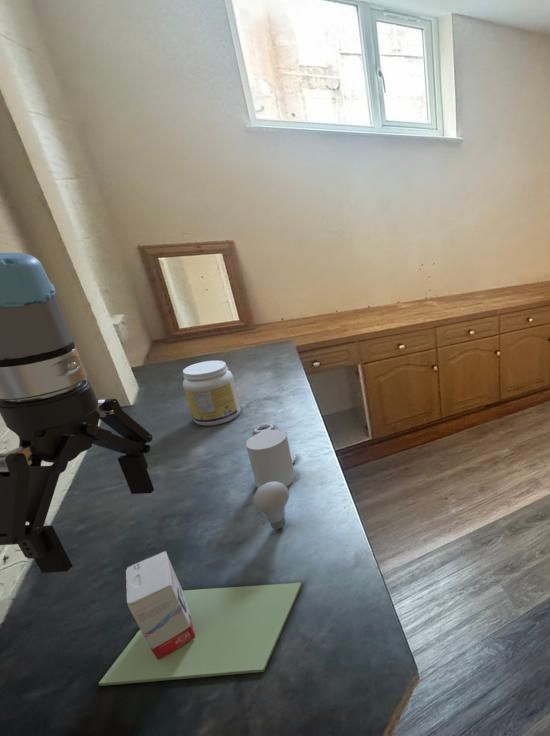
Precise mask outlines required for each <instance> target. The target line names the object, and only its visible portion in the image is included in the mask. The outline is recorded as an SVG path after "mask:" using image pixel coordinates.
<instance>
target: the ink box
mask: <svg viewBox="0 0 550 736" xmlns="http://www.w3.org/2000/svg"><path fill="white" fill-rule="evenodd" d="M125 581H126V583H125V584H126V585H125V588H126V604H127V608H128V609H129V611H130V613H131V615H132V617H133V618H134V620H135V622H136V624H137V626H138V628H139V630H141V631H142V633H143V635H144V637H145V639H146V641H147V643H148V644H149V646H150V648H151V650H152V652H153V654H154V655H155V657H156V659H161V658H163V657H164V656H166V655H168V654H169V653H171V652H173V651H175V650H176V649H178V648H179V647H181V646H182V645H184V644H186V643H187V642H189V641H190V640H192V639H193V638H195V632H194V628H193V624H192V620H191V615H190V611H189V606H188V602H187V600H186V597H185V595H184V593H183V588H182V585H181V583H180V581H179V579H178V576H177V574H176V572H175V570H174V567H173V565H172V563H171V560H170V558H169V555H168V553H167V551H166V550H164V551H162V552H159V553H157V554H154V555H152V556H149V557H147V558H145V559H143V560H140V561H138V562H136V563H134V564H131V565H130V566H126V569H125Z"/></svg>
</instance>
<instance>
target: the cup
mask: <svg viewBox="0 0 550 736" xmlns="http://www.w3.org/2000/svg"><path fill="white" fill-rule="evenodd" d="M245 446H246V450H247V455H248V458H249V462H250V466H251V469H252V473H253V474H252V475H253V477H254V481H255V484H256V489H257V490H258V489H259V487H261V486H262V485H264V484H265V483H268V482H272V481H277V482H281V483H283V484H284V485H285V486H286V487H287V488H288V487H289V486H291V484H293V483H294V481H295V480H296V473H295V468H294V463H293V462H292V458H291V453H292V452H291V449H290V444H289V439H288V434H287V432H286V431H285V430H282V429H272V430H267V431H263V432H260V433H258V434H256V433H255V434H253V435H252V436H251V437H249V438H248V439H247V440H246V442H245Z"/></svg>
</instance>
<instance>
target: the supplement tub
mask: <svg viewBox="0 0 550 736" xmlns="http://www.w3.org/2000/svg"><path fill="white" fill-rule="evenodd" d="M182 373H183V378H184V379H183V381H182V387H183V390H184V394H185V397H186V400H187V404H188V407H189V409H190V413H191V416H192V419H193V421H194V423H195V424H197V425H200V426H205V427H207V426H218V425H221V424H225V423H228V422H230V421H232V420H234V419H235V418H237V417H238V416H239V415H240V414H241V412H242V406H241V402H240V398H239V395H238V391H237V386H236V383H235V378H234V375H233V373H232V372H231V371H230V370H229V368H228V366H227V363H226V362H225V361H223V360H205V361H200V362H197V363H193V364H191V365H188V366H186V367H185V368H183V369H182Z"/></svg>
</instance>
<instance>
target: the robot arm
mask: <svg viewBox="0 0 550 736" xmlns="http://www.w3.org/2000/svg"><path fill="white" fill-rule="evenodd" d="M70 330H71V329H70V327H69V325H68V322H67V318H66V317H65V314H64V311H63V309H62V307H61V303H60V300H59V298H58V295H57V289H56V287H55V285H54V284H53V283H52V281H50V279H49V277H48V275H47V272H46V270H45V269H44V266H43V264H42V262H41V261H40V260H39V259H38V258H37V257H35V256H33V255H31V254H28V253H23V252H0V416H1V418H2V420H3V422H4V424H5V426H6V428H8V429H9V430H10V431H12V432H13V433H14V434H16V435H17V436H18V441H19V443H18V447H16V448H14V449H12V450H9V451H7V452H1V453H0V546H12V545H13V546H14V545H17V546H18V547H19V549H20V550H21V553H22V554H23V556H24V557H25V558H27V559H29V560H30V559H34V561H35V563H36V564H37V566H38V568H39V571H40V572H41V573H42V574H45V573H48V574H49V573H63V572H68V571H69V570H70V569H71V568H73V564H72V562H71V560H70V557H69V556H68V554H67V552H66V550H65V548H64V546H63V544H62V542H61V540H60V538H59V536H58V534H57V532H56V530H55V528H54V526H53V525H45V523H46V519H47V517H48V513H49V510H50V508H51V504H52V500H53V498H54V495H55V491H56V489H57V488H56V487H57V484H58V482H59V479H60V475H61V474H62V473H64V472H65V471H66V470H67V467H68V464H69V462H72V461H73V460H75V459H76V458H78V456H79V455H80V454H81V453H83V452H86V451H88V450H89V449H91V448H92V447H93V445H95V446H98V447H101V448H104V449H107V450H110V451H114V452H117V453H120V454H122V455H120V456H119V457H118V458H117V461H118V463H119V466H120V469H121V471H122V473H123V477H124V478H125V481H126V483H127V486H128V489H129V491H130V494H131V495H141V494H152V493H153V492H154V491H155V488H154V485H153V482H152V479H151V476H150V475H149V472H148V468H149V464H148V462H147V459H146V456H145V454H148V453H150V451H151V445H150V444H147V443H151V442H152V440H153V435H152V434H151V433H150V432H149V431H148V430H147V429H145V428H144V427H143V426H141V424H139V423H138V422H137V421H136V420H135V419H133V418H132V417H131V416H130V415H129V414H128V413H127V412H125V411H124V410H123V408H122V407H121V405H120V403H119V401H118V400H117V398H98V397H97V396H96V393H95V391H94V388H93V385H92V383H91V381H89V380H86V378H87V372H86V370H85V367H84V365H83V362H82V360H81V357H80V354H79V352H78V349H77V347H76V345H75V343H74V338H73V336H72V332H71V331H70ZM100 421H101V422H103V423H104V424H105V425H106V426H108V427H110V428H111V429H112V430H114V432H116V433H117V434H115V433H113V431H111V430H107V429H105V428H102V427H100V426H99V423H100ZM118 434H119V435H118ZM123 454H124V455H123ZM42 462H45V463H49V464H50V463H52V464H51V465H42ZM26 523H28V524H26Z"/></svg>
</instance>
